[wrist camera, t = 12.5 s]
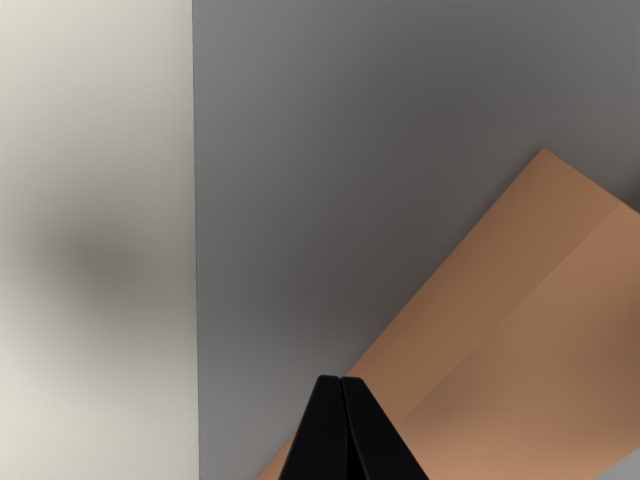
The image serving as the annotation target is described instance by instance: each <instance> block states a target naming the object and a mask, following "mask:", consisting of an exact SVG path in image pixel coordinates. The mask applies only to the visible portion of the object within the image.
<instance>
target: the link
mask: <svg viewBox="0 0 640 480" xmlns="http://www.w3.org/2000/svg"><path fill="white" fill-rule="evenodd" d="M345 376H349V377H360V378H361V379H362V380H363V381H364V382H365V384H366V385H367V387H368V388H369V390H370V391H371V393H372V394H373V396H374V397H375V399H376V400H377V402H378V403H379V405H380V406H381V408H382V409H383V411H384V412H385V414H386V415H387V417H388V418H389V420H390V421H391V423H392V424H393V425H394V427H395V428H396V430H397V431H398V433H399V434H400V436H401V437H402V439H403V440H404V442H405V443H406V445H407V446H408V448H409V449H410V451H411V452H412V454H413V455H414V457H415V458H416V460H417V461H418V463H419V464H420V466H421V467H422V469H423V470H424V472H425V473H426V475H427V476H428V478H429V479H430V480H593V479H594V478H596V477H597V476H599V475H600V474H602V473H603V472H605V471H606V470H607V469H609V468H610V467H612V466H613V465H615V464H616V463H618V462H619V461H621V460H622V459H623V458H625V457H626V456H628V455H629V454H631V453H632V452H634V451H635V450H637V449H638V448H640V213H638V212H637V211H636V210H634V209H633V208H631V207H630V206H628V205H627V204H625V203H624V202H623V201H621V200H620V199H618V198H617V197H615V196H614V195H612V194H611V193H609V192H608V191H607V190H605V189H604V188H602V187H601V186H599V185H598V184H596V183H595V182H593V181H592V180H591V179H589V178H588V177H586V176H585V175H583V174H582V173H580V172H579V171H577V170H576V169H575V168H573V167H572V166H570V165H569V164H567V163H566V162H564V161H563V160H561V159H560V158H559V157H557V156H556V155H554V154H553V153H551V152H550V151H548V150H547V149H545V148H544V147H543V148H542V149H541V150H540V151H539V153H538V154H537V155H536V156H535V157H534V158H533V159H532V161H531V162H530V163H529V164H528V165H527V166H526V168H525V169H524V170H523V171H522V172H521V173H520V174H519V176H518V177H517V178H516V179H515V180H514V181H513V182H512V184H511V185H510V186H509V187H508V188H507V189H506V191H505V192H504V193H503V194H502V195H501V196H500V197H499V199H498V200H497V201H496V202H495V203H494V204H493V206H492V207H491V208H490V209H489V210H488V211H487V212H486V214H485V215H484V216H483V217H482V218H481V219H480V221H479V222H478V223H477V224H476V225H475V226H474V227H473V229H472V230H471V231H470V232H469V233H468V234H467V236H466V237H465V238H464V239H463V240H462V241H461V242H460V244H459V245H458V246H457V247H456V248H455V249H454V251H453V252H452V253H451V254H450V255H449V256H448V257H447V259H446V260H445V261H444V262H443V263H442V264H441V265H440V267H439V268H438V269H437V270H436V271H435V272H434V274H433V275H432V276H431V277H430V278H429V279H428V280H427V282H426V283H425V284H424V285H423V286H422V287H421V289H420V290H419V291H418V292H417V293H416V294H415V295H414V297H413V298H412V299H411V300H410V301H409V302H408V304H407V305H406V306H405V307H404V308H403V309H402V310H401V312H400V313H399V314H398V315H397V316H396V317H395V319H394V320H393V321H392V322H391V323H390V324H389V325H388V327H387V328H386V329H385V330H384V331H383V332H382V333H381V335H380V336H379V337H378V338H377V339H376V340H375V342H374V343H373V344H372V345H371V346H370V347H369V348H368V350H367V351H366V352H365V353H364V354H363V355H362V357H361V358H360V359H359V360H358V361H357V362H356V363H355V365H354V366H353V367H352V368H351V369H350V370H349V372H348V373H347V374H346V375H345ZM295 434H296V433H295ZM295 434H294V435H293V436H292V437H291V438H290V440H289V441H288V442H287V443H286V444H285V445H284V446H283V448H282V449H281V450H280V451H279V452H278V453H277V455H276V456H275V457H274V458H273V459H272V460H271V461H270V463H269V464H268V465H267V466H266V467H265V468H264V470H263V471H262V472H261V473H260V474H259V475H258V476H257V478H256V479H255V480H278V477H279V475H280V472H281V470H282V467H283V464H284V462H285V459H286V457H287V454H288V452H289V449H290V447H291V444H292V441H293V439H294V436H295Z"/></svg>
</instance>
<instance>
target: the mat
mask: <svg viewBox="0 0 640 480" xmlns="http://www.w3.org/2000/svg"><path fill="white" fill-rule="evenodd" d="M192 19H193V85H194V151H195V216H196V282H197V348H198V414H199V480H255V479H256V478H257V476H258V475H259V474H260V473H261V472H262V471H263V470H264V468H265V467H266V466H267V465H268V464H269V463H270V461H271V460H272V459H273V458H274V457H275V456H276V455H277V453H278V452H279V451H280V450H281V449H282V448H283V446H284V445H285V444H286V443H287V442H288V441H289V440H290V438H291V437H292V436H293V435H294V434H295V433H296V431H297V429H298V426H299V424H300V421H301V418H302V416H303V413H304V411H305V408H306V406H307V403H308V401H309V398H310V396H311V393H312V390H313V388H314V385H315V383H316V380H317V378H318V376H319V375H334V376H338V377H339V378H341V377H343V376H345V375H346V374H347V373H348V372H349V370H350V369H351V368H352V367H353V366H354V365H355V363H356V362H357V361H358V360H359V359H360V358H361V357H362V355H363V354H364V353H365V352H366V351H367V350H368V348H369V347H370V346H371V345H372V344H373V343H374V342H375V340H376V339H377V338H378V337H379V336H380V335H381V333H382V332H383V331H384V330H385V329H386V328H387V327H388V325H389V324H390V323H391V322H392V321H393V320H394V319H395V317H396V316H397V315H398V314H399V313H400V312H401V310H402V309H403V308H404V307H405V306H406V305H407V304H408V302H409V301H410V300H411V299H412V298H413V297H414V295H415V294H416V293H417V292H418V291H419V290H420V289H421V287H422V286H423V285H424V284H425V283H426V282H427V280H428V279H429V278H430V277H431V276H432V275H433V274H434V272H435V271H436V270H437V269H438V268H439V267H440V265H441V264H442V263H443V262H444V261H445V260H446V259H447V257H448V256H449V255H450V254H451V253H452V252H453V251H454V249H455V248H456V247H457V246H458V245H459V244H460V242H461V241H462V240H463V239H464V238H465V237H466V236H467V234H468V233H469V232H470V231H471V230H472V229H473V227H474V226H475V225H476V224H477V223H478V222H479V221H480V219H481V218H482V217H483V216H484V215H485V214H486V212H487V211H488V210H489V209H490V208H491V207H492V206H493V204H494V203H495V202H496V201H497V200H498V199H499V197H500V196H501V195H502V194H503V193H504V192H505V191H506V189H507V188H508V187H509V186H510V185H511V184H512V182H513V181H514V180H515V179H516V178H517V177H518V176H519V174H520V173H521V172H522V171H523V170H524V169H525V168H526V166H527V165H528V164H529V163H530V162H531V161H532V159H533V158H534V157H535V156H536V155H537V154H538V153H539V151H540V150H541V149H542V148H543V147H544V148H545V149H547V150H548V151H550V152H551V153H553V154H554V155H556V156H557V157H559V158H560V159H561V160H563V161H564V162H566V163H567V164H569V165H570V166H572V167H573V168H575V169H576V170H577V171H579V172H580V173H582V174H583V175H585V176H586V177H588V178H589V179H591V180H592V181H593V182H595V183H596V184H598V185H599V186H601V187H602V188H604V189H605V190H607V191H608V192H609V193H611V194H612V195H614V196H615V197H617V198H618V199H620V200H621V201H623V202H624V203H625V204H627V205H628V206H630V207H631V208H633V209H634V210H636V211H637V212H638V213H640V0H192ZM593 480H640V448H638V449H637V450H635V451H634V452H632V453H631V454H629V455H628V456H626V457H625V458H623V459H622V460H621V461H619V462H618V463H616V464H615V465H613V466H612V467H610V468H609V469H607V470H606V471H605V472H603V473H602V474H600V475H599V476H597V477H596V478H594V479H593Z"/></svg>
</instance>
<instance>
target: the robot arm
mask: <svg viewBox="0 0 640 480" xmlns="http://www.w3.org/2000/svg"><path fill="white" fill-rule="evenodd" d="M278 480H430V479H429V478H428V476H427V475H426V473H425V472H424V470H423V469H422V467H421V466H420V464H419V463H418V461H417V460H416V458H415V457H414V455H413V454H412V452H411V451H410V449H409V448H408V446H407V445H406V443H405V442H404V440H403V439H402V437H401V436H400V434H399V433H398V431H397V430H396V428H395V427H394V425H393V424H392V423H391V421H390V420H389V418H388V417H387V415H386V414H385V412H384V411H383V409H382V408H381V406H380V405H379V403H378V402H377V400H376V399H375V397H374V396H373V394H372V393H371V391H370V390H369V388H368V387H367V385H366V384H365V382H364V381H363V380H362V379H361V378H360V377H349V376H343V377H341V378H339V377H338V376H334V375H319V376H318V378H317V380H316V383H315V385H314V388H313V390H312V393H311V396H310V398H309V401H308V403H307V406H306V408H305V411H304V413H303V416H302V418H301V421H300V424H299V426H298V429H297V431H296V434H295V436H294V439H293V441H292V444H291V447H290V449H289V452H288V454H287V457H286V459H285V462H284V464H283V467H282V470H281V472H280V475H279V477H278Z"/></svg>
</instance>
